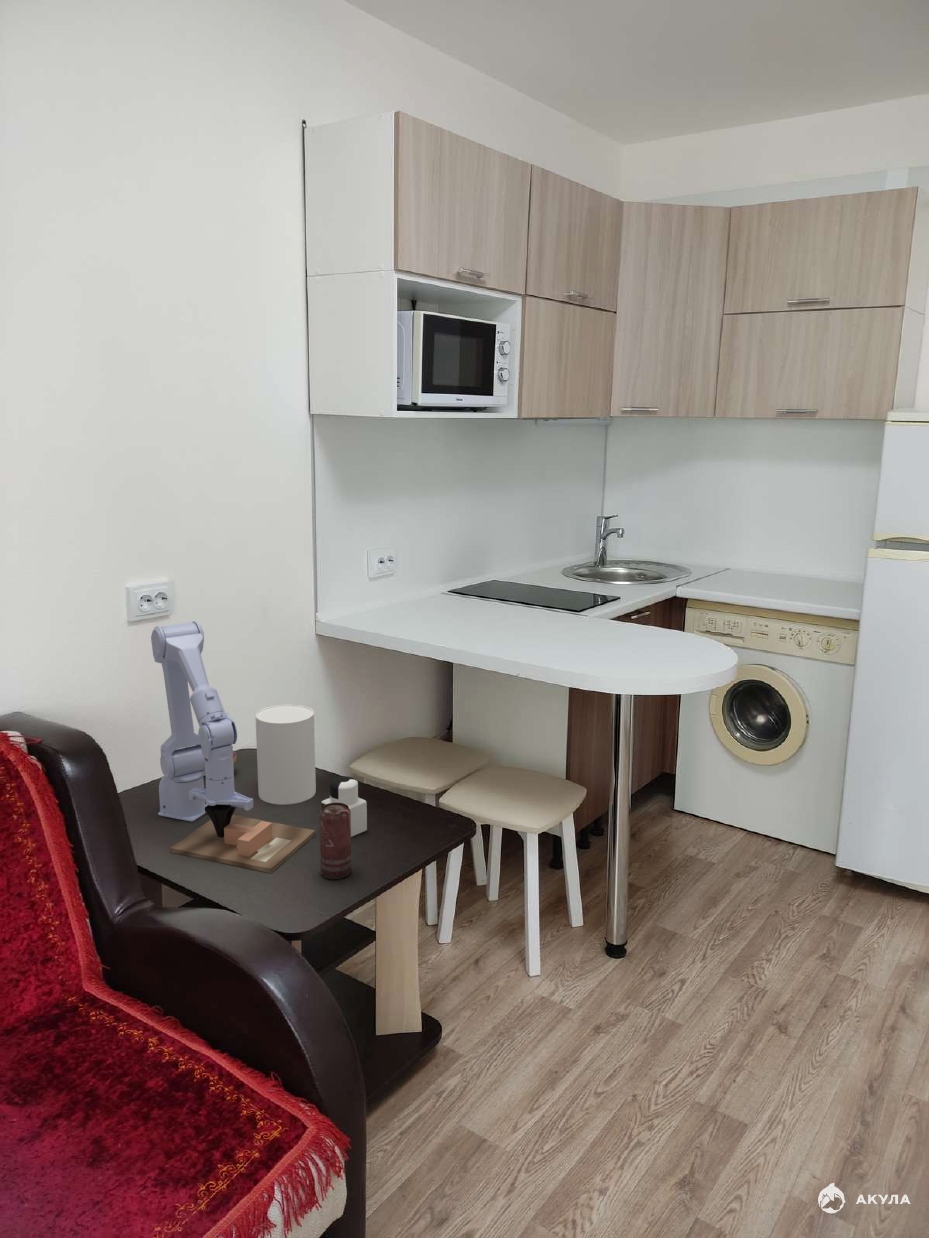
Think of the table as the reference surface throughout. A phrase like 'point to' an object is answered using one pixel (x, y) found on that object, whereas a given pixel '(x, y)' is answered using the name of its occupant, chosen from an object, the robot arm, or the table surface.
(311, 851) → the table surface
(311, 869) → the table surface
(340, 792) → the medicine bottle
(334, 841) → the can
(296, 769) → the canister
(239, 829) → the t block
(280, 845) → the board
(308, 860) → the table surface
